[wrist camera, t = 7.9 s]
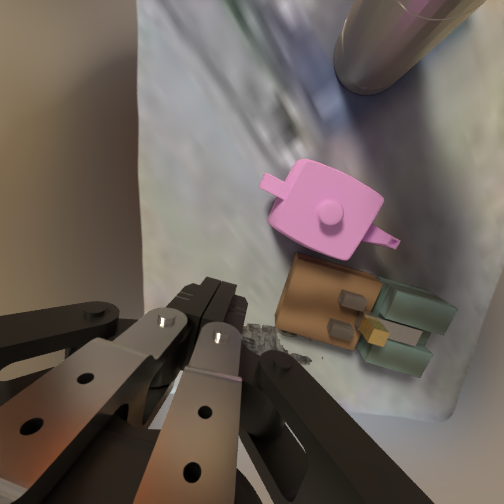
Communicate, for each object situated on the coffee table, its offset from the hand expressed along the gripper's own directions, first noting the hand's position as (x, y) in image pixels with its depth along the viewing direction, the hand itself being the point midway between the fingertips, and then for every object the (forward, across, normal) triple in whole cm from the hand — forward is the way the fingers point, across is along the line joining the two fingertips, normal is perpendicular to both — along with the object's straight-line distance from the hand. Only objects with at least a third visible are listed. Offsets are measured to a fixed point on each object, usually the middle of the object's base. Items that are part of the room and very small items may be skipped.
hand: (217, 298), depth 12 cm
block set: (+26, -18, +8) cm, 32 cm away
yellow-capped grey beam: (+22, -21, +8) cm, 31 cm away
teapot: (+26, -8, -4) cm, 28 cm away
